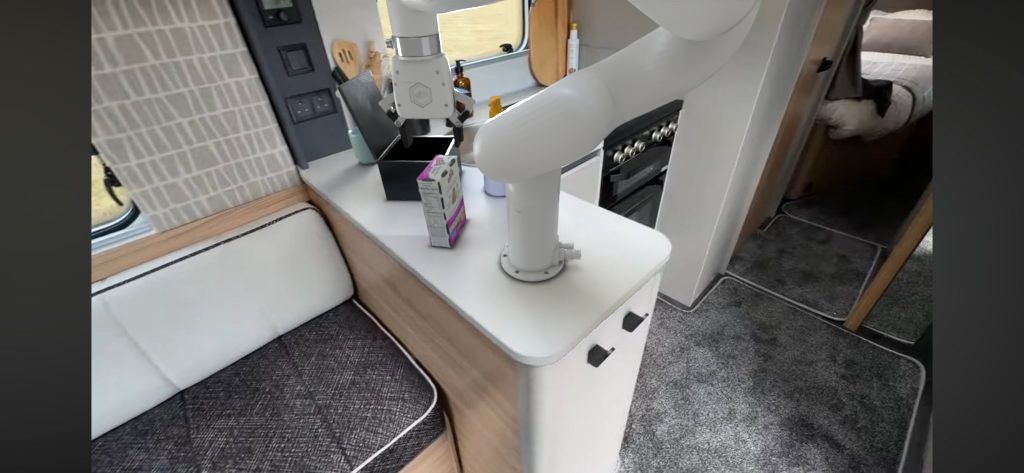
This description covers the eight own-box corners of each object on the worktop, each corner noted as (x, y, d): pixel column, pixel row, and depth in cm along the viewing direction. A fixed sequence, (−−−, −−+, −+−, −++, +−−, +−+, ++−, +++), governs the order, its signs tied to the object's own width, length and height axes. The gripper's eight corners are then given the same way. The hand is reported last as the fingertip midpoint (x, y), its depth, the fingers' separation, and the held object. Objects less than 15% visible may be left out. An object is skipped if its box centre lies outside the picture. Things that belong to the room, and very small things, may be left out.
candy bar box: (447, 218, 89) (436, 153, 79) (467, 220, 88) (458, 154, 78) (429, 246, 80) (414, 178, 70) (451, 249, 79) (440, 179, 69)
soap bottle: (479, 196, 96) (470, 102, 82) (489, 179, 104) (483, 90, 90) (512, 199, 95) (508, 104, 81) (520, 182, 102) (518, 92, 88)
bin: (462, 171, 108) (457, 135, 102) (450, 201, 95) (444, 162, 89) (406, 171, 110) (398, 135, 103) (387, 200, 97) (376, 161, 90)
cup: (357, 158, 118) (348, 127, 112) (382, 154, 120) (374, 123, 114) (356, 168, 112) (347, 136, 106) (383, 164, 114) (375, 132, 108)
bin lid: (369, 68, 93) (350, 74, 95) (339, 86, 80) (318, 92, 81) (399, 133, 103) (382, 138, 104) (377, 159, 90) (358, 164, 91)
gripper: (358, 51, 59) (383, 152, 69) (466, 50, 58) (475, 153, 68) (375, 42, 65) (396, 137, 75) (473, 41, 64) (481, 137, 74)
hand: (433, 144), depth 72 cm, fingers open, 9 cm apart
